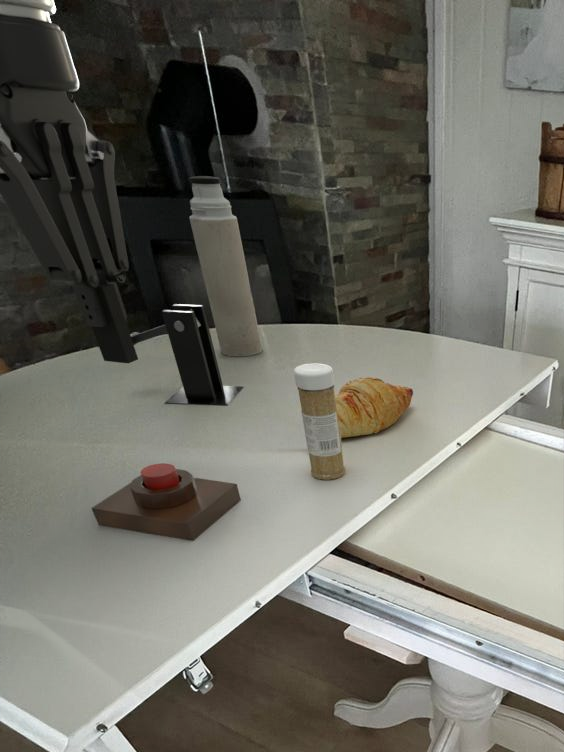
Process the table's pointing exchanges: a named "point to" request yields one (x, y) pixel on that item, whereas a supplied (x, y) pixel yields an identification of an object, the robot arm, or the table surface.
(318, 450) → the spice jar
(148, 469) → the button
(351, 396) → the croissant
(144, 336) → the lever
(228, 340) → the thermos bottle
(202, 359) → the bracket
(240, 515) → the table surface
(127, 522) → the button block
